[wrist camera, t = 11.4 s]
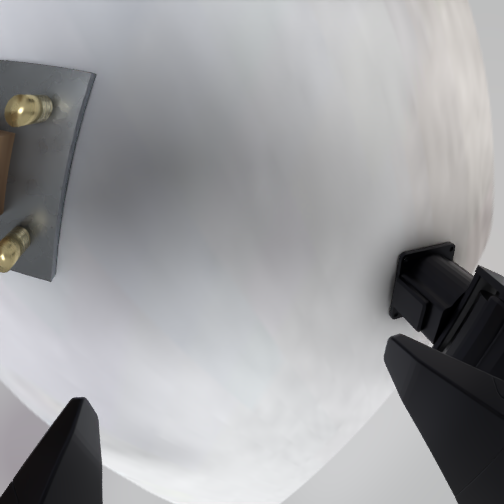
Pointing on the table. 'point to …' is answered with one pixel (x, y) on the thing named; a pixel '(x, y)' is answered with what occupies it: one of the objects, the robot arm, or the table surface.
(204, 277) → the table surface
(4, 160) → the walnut block
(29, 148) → the standoff plate
